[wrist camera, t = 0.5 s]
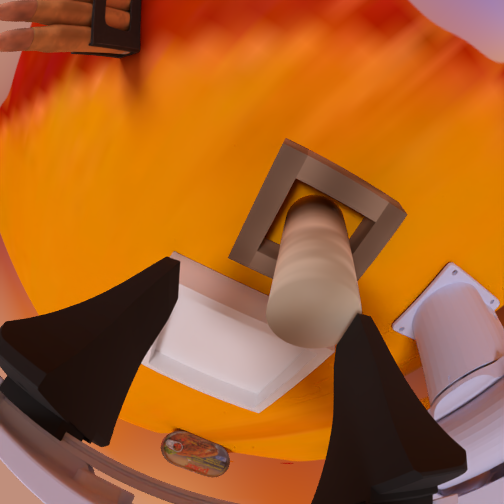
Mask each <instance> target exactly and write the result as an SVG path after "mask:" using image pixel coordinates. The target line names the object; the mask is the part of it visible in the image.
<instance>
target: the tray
mask: <svg viewBox="0 0 504 504" xmlns="http://www.w3.org/2000/svg"><path fill="white" fill-rule="evenodd" d="M170 258H173V259H176V260H179V261H180V275H179V293H178V300H177V302H176V304H175V307H174V309H173V311H172V313H171V315H170V317H169V319H168V321H167V322H166V324H165V325H164V327H163V329H162V330H161V332H160V333H159V335H158V337H157V338H156V340H155V341H154V343H153V345H152V346H151V348H150V349H149V351H148V352H147V354H146V356H145V357H144V359H143V361H142V363H141V364H143V365H145V366H147V367H149V368H151V369H153V370H155V371H157V372H159V373H161V374H163V375H165V376H167V377H169V378H171V379H173V380H175V381H178V382H180V383H182V384H184V385H186V386H189V387H191V388H193V389H196V390H198V391H200V392H203V393H205V394H208V395H210V396H213V397H215V398H218V399H220V400H223V401H226V402H228V403H231V404H234V405H237V406H239V407H242V408H245V409H248V410H251V411H254V412H257V413H260V412H261V411H262V410H264V409H265V408H267V407H268V406H269V405H271V404H272V403H273V402H275V401H276V400H277V399H279V398H280V397H281V396H282V395H284V394H285V393H286V392H288V391H289V390H290V389H291V388H293V387H294V386H295V385H296V384H298V383H299V382H300V381H301V380H303V379H304V378H305V377H306V376H307V375H309V374H310V373H311V372H312V371H313V370H314V369H316V368H317V367H318V366H319V365H320V364H321V363H323V362H324V361H325V360H326V359H327V358H328V357H329V356H330V355H332V354H333V353H334V352H335V345H333V346H330V347H325V348H303V347H298V346H295V345H292V344H289V343H287V342H285V341H283V340H282V339H280V338H279V337H278V336H277V335H275V334H274V332H273V331H272V330H271V329H270V327H269V325H268V322H267V319H266V309H267V304H268V300H269V296H268V295H265V294H263V293H261V292H259V291H257V290H254V289H252V288H250V287H248V286H246V285H244V284H241V283H239V282H237V281H235V280H233V279H231V278H229V277H226V276H224V275H222V274H220V273H218V272H216V271H214V270H212V269H210V268H207V267H205V266H203V265H201V264H199V263H197V262H195V261H193V260H191V259H189V258H187V257H185V256H183V255H181V254H179V253H177V252H175V251H174V252H173V253H172V255H171V256H170Z"/></svg>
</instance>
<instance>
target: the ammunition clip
mask: <svg viewBox="0 0 504 504" xmlns="http://www.w3.org/2000/svg"><path fill="white" fill-rule="evenodd" d="M0 20H2V21H16V22H17V21H25V22H37V23H40V24H44V25H48V26H43V27H31V28H22V29H14V30H9V31H5V32H2V33H0V51H1V52H13V51H41V52H71V54H84V55H96V56H106V57H114V58H122V57H125V56H128V55H131V54H135V53H138V52H139V51H140V22H141V0H21V1H12V2H8V3H4V4H0Z"/></svg>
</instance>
